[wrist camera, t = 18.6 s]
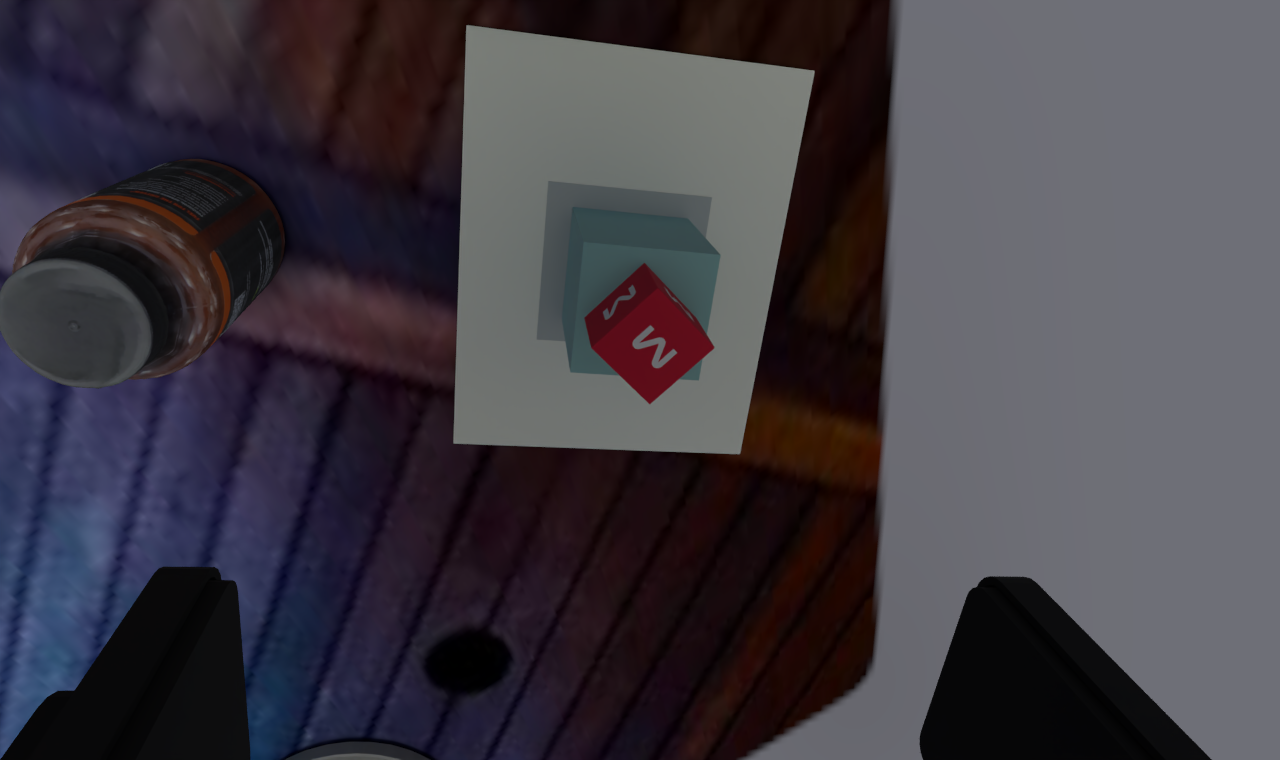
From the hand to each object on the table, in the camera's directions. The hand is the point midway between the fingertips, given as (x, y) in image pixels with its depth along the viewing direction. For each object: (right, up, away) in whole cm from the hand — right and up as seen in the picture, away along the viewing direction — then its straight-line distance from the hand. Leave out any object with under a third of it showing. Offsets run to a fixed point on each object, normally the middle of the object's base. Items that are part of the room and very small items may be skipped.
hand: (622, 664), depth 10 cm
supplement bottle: (-17, +10, +23) cm, 30 cm away
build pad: (-1, +9, +25) cm, 27 cm away
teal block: (0, +8, +24) cm, 26 cm away
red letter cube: (0, +6, +19) cm, 20 cm away
